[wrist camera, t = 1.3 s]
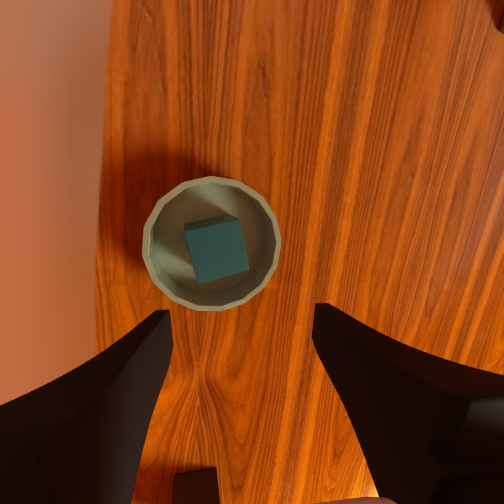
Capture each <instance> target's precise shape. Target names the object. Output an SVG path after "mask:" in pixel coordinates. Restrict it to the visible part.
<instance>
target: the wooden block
mask: <svg viewBox="0 0 504 504" xmlns="http://www.w3.org/2000/svg"><path fill="white" fill-rule="evenodd" d="M500 31H501V32H503V33H504V15H503V18H502V22H501V25H500Z"/></svg>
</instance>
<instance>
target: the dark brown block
mask: <svg viewBox="0 0 504 504" xmlns="http://www.w3.org/2000/svg"><path fill="white" fill-rule="evenodd" d="M171 504H220V497H219V488H218V478H217V469H216V468H211V469H205V470H200V471H194V472H188V473H182V474H176V475H174V479H173V488H172V497H171Z"/></svg>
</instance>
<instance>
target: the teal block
mask: <svg viewBox="0 0 504 504" xmlns="http://www.w3.org/2000/svg"><path fill="white" fill-rule="evenodd" d="M184 236H185V239H186V243H187V247H188V250H189V254H190V258H191V261H192V265H193V269H194V272H195V276H196V280H197V283H198V284H200V283H204V282H207V281H211V280H215V279H218V278H222V277H226V276H229V275H233V274H237V273H240V272H244V271H248V270H249V264H248V259H247V254H246V249H245V244H244V239H243V234H242V229H241V224H240V219H238V218H236V217H234V216H232V215H230V214H229V215H224V216H220V217H215V218H211V219H206V220H201V221H197V222H192V223H188V224H184Z"/></svg>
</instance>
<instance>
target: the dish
mask: <svg viewBox="0 0 504 504" xmlns="http://www.w3.org/2000/svg"><path fill="white" fill-rule="evenodd" d="M229 214H230V215H232V216H234V217H236V218H238V219H240V224H241V229H242V234H243V239H244V244H245V249H246V254H247V259H248V264H249V270H248V271H244V272H240V273H237V274H233V275H229V276H226V277H222V278H218V279H215V280H211V281H207V282H204V283H200V284H198V283H197V280H196V276H195V272H194V269H193V265H192V261H191V258H190V254H189V250H188V247H187V243H186V239H185V236H184V224H188V223H192V222H197V221H201V220H206V219H211V218H215V217H220V216H224V215H229ZM280 247H281V237H280V232H279V227H278V222H277V218H276V216H275V214H274V213H273V211H272V210H271V208H270V207H269V205H268V204H267V202H266V201H265V199H264V198H263V196H262V195H260V194H259V193H257V192H256V191H254V190H253V189H251V188H250V187H248V186H247V185H245V184H244V183H242V182H241V181H238V180H233V179H228V178H222V177H217V176H206V177H202V178H198V179H193V180H189V181H185V182H182V183H180V184H179V185H177V186H176V187H175V188H173V189H172V190H171V191H169V192H168V193H167V194H165V195H164V196H163V197H161V198H160V199H159V200H158V201H157V202H156V204H155V206H154V208H153V210H152V212H151V213H150V215H149V217H148V219H147V221H146V223H145V224H144V227H143V241H142V258H143V260H144V263H145V265H146V268H147V270H148V273H149V275H150V278H151V281H152V282H153V283H154V284H155V285H156V286H157V287H158V288H159V289H160V290H161V291H162V292H163V293H164V294H165V295H166V296H167V297H168V298H169V299H170V300H171V301H174V302H176V303H178V304H181V305H183V306H186V307H188V308H191V309H193V310H196V311H223V310H226V309H229V308H232V307H235V306H238V305H240V304H243V303H245V302H247V301H248V300H249V299H251V298H252V297H253V296H254V295H255V294H257V293H258V292H259V291H260V290H262V289H263V288H264V287H265V285H266V284H267V282H268V281H269V279H270V277H271V276H272V274H273V272H274V271H275V269H276V267H277V264H278V258H279V253H280Z"/></svg>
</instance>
